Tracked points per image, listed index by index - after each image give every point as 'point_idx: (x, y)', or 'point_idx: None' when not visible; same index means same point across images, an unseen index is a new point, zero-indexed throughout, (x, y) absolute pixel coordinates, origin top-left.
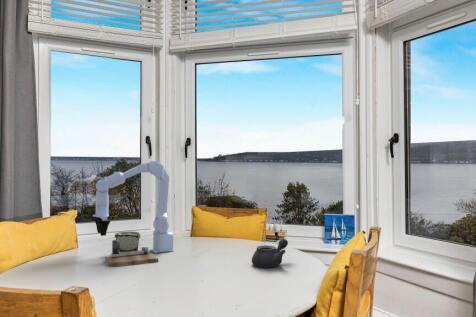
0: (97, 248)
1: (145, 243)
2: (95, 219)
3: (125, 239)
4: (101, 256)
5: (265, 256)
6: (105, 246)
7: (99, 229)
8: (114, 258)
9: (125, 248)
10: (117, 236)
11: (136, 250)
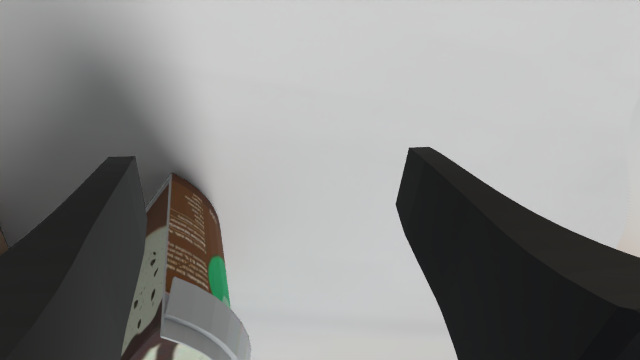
0: (539, 68)
1: (442, 346)
2: (594, 323)
3: None
4: (158, 35)
5: None
6: (556, 141)
7: (430, 204)
8: None
9: None
10: (155, 315)
11: None
